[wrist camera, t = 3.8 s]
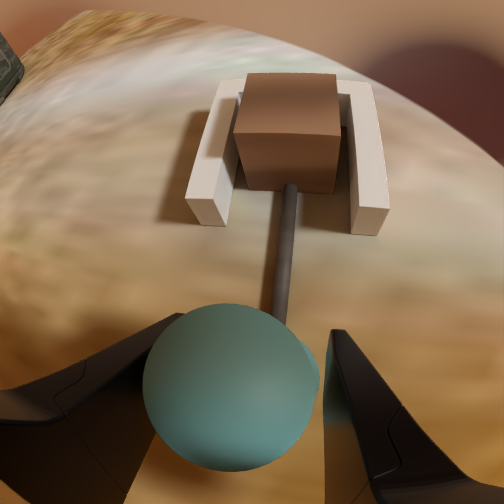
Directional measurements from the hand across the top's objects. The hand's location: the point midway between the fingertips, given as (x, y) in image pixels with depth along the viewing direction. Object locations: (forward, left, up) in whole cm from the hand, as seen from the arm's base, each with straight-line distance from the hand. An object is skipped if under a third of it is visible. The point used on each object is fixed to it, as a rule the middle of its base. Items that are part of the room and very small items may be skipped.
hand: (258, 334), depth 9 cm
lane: (+4, +11, -7) cm, 13 cm away
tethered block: (+2, +5, -7) cm, 8 cm away
